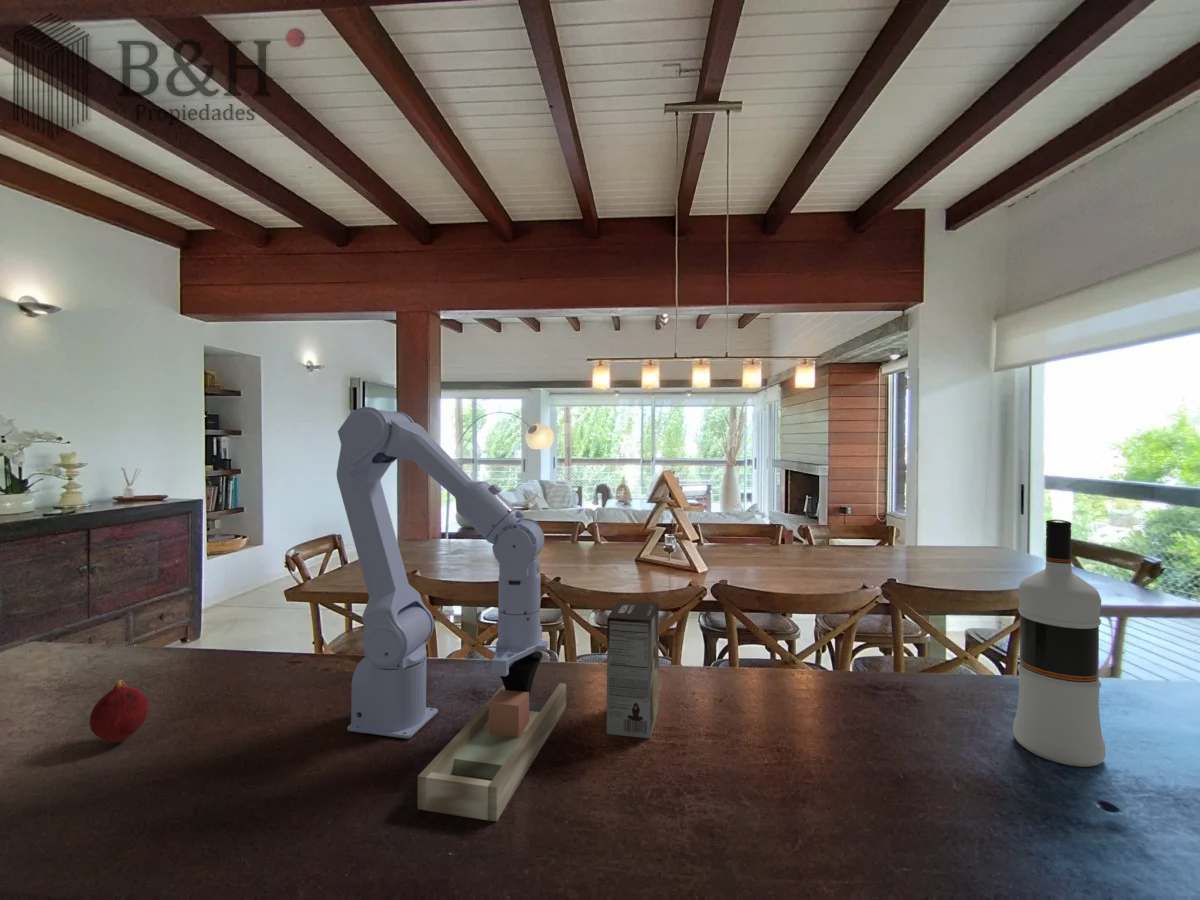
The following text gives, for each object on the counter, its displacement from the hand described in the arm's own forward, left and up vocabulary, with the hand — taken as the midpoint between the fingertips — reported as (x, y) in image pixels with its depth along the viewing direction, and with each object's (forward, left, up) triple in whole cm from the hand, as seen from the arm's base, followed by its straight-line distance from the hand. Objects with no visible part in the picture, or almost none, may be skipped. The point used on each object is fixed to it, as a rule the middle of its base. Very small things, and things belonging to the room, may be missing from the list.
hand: (518, 708), depth 76 cm
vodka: (+70, +11, -3) cm, 71 cm away
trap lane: (0, -5, -3) cm, 6 cm away
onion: (-49, -15, -3) cm, 51 cm away
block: (0, -3, -1) cm, 4 cm away
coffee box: (+15, +6, -3) cm, 17 cm away
